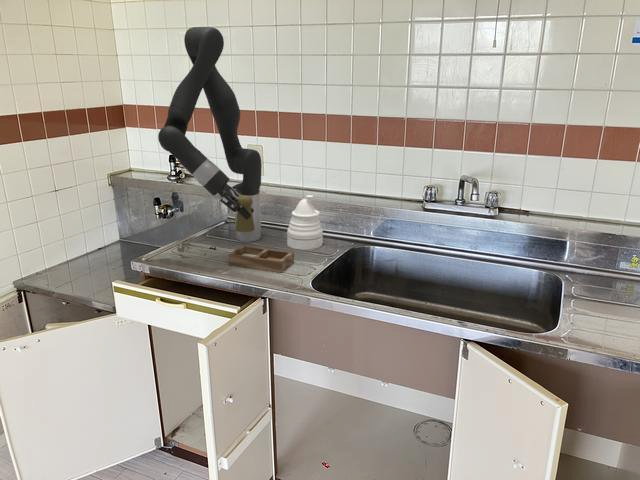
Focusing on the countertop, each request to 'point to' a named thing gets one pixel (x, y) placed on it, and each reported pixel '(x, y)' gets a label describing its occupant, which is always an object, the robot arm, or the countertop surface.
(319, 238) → the honey pot
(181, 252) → the countertop surface
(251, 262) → the spice caddy
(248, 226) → the cork
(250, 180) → the robot arm
